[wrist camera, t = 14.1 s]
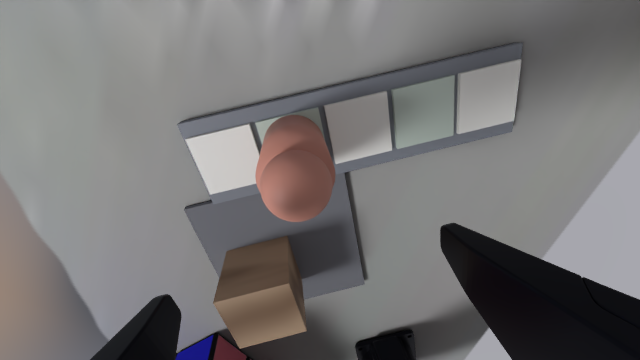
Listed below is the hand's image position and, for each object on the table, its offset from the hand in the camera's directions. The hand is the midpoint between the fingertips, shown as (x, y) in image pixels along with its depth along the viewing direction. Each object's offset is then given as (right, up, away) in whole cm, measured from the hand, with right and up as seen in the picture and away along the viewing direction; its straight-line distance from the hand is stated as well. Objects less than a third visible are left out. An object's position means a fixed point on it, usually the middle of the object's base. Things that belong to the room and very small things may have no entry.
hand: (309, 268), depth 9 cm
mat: (-3, -3, +14) cm, 15 cm away
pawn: (-1, +5, +9) cm, 11 cm away
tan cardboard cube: (-4, -4, +14) cm, 16 cm away
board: (+3, +7, +10) cm, 13 cm away
